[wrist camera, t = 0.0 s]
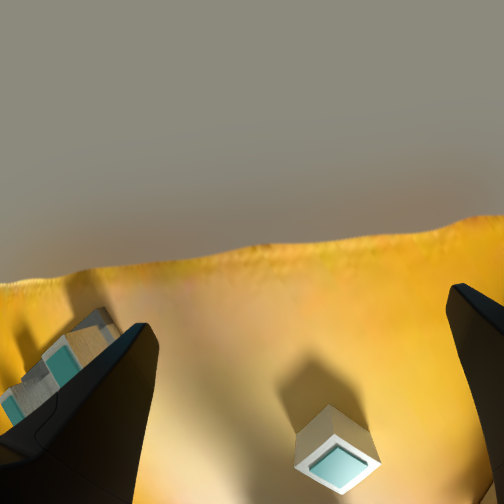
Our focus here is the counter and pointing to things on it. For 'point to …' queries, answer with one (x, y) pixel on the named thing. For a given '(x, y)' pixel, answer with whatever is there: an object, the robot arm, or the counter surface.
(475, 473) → the counter surface
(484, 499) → the knife block
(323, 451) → the block
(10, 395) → the module docking base
